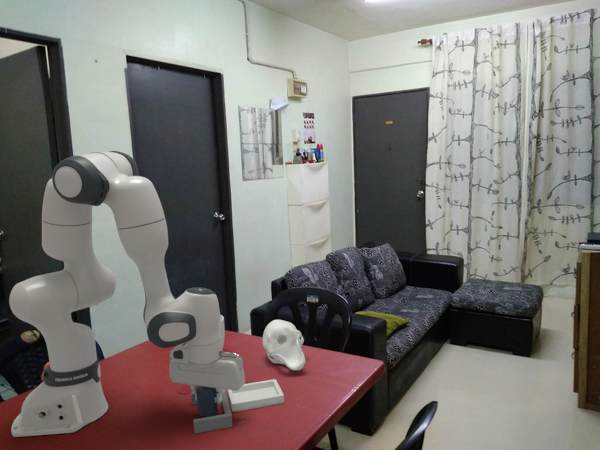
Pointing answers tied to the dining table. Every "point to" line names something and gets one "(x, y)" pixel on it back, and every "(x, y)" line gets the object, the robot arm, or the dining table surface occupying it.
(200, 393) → the vaping device
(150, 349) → the dining table surface
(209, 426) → the bay
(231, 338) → the dining table surface
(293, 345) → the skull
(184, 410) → the dining table surface
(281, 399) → the tray
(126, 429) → the dining table surface
